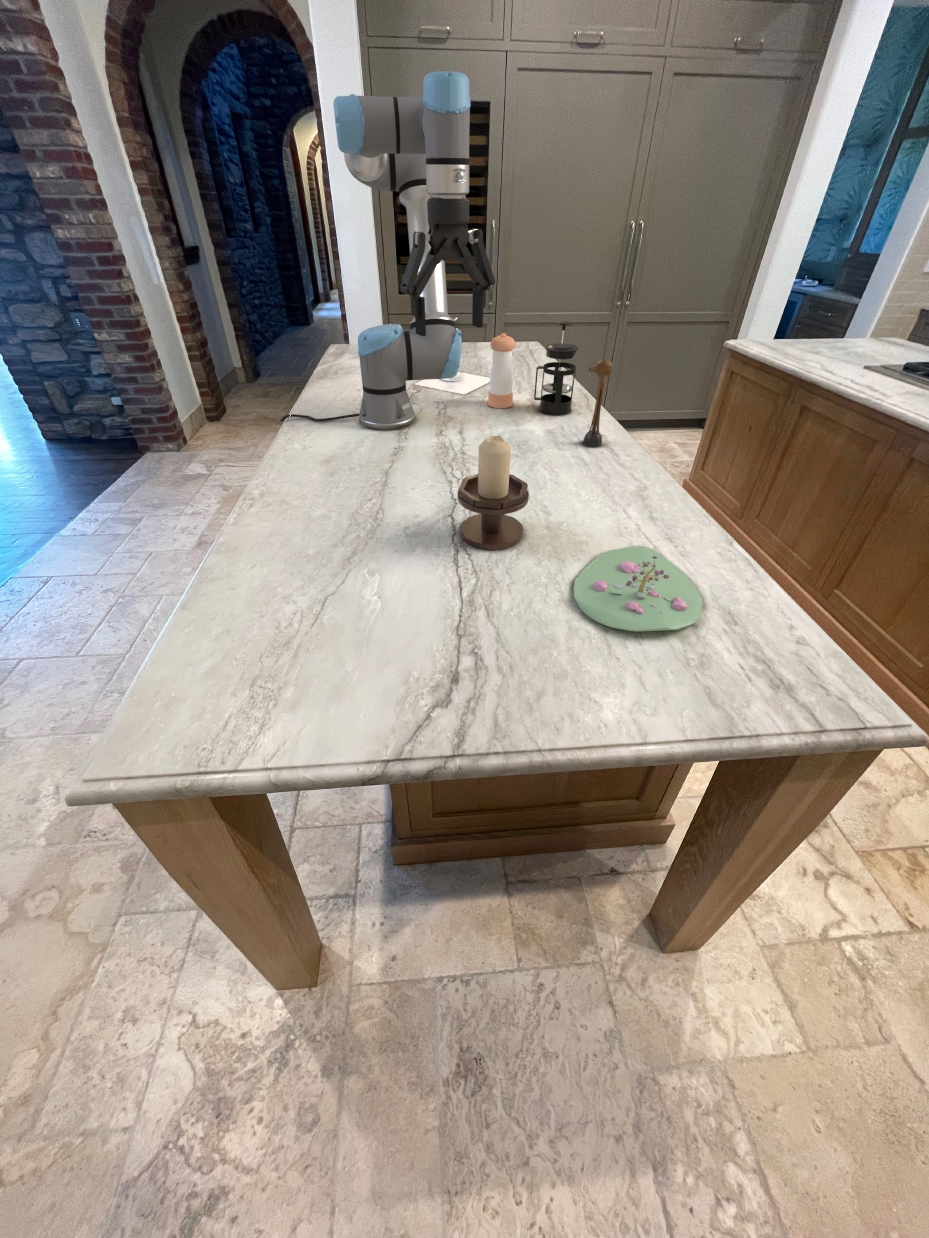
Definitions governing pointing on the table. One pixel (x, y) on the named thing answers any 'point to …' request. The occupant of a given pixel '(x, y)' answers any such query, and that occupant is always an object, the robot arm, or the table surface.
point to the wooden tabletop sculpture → (597, 404)
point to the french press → (557, 378)
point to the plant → (637, 591)
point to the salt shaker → (501, 372)
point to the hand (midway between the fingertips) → (449, 330)
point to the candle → (493, 468)
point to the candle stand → (492, 515)
